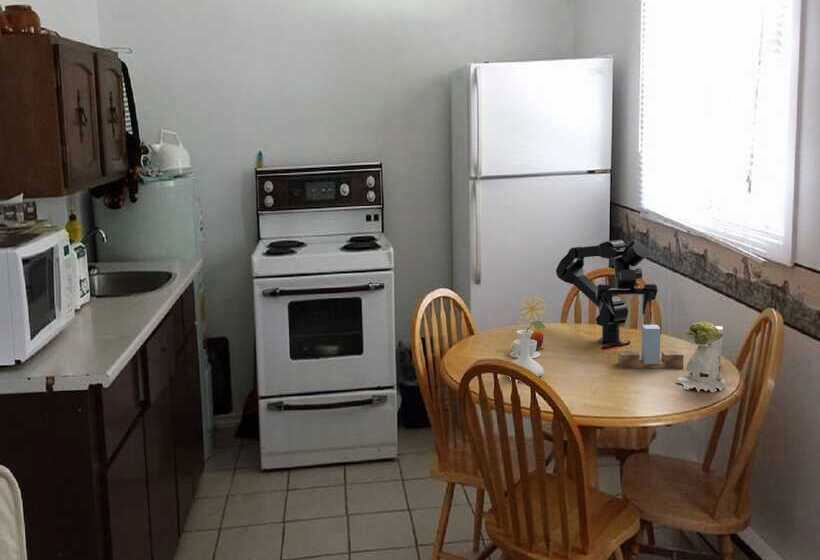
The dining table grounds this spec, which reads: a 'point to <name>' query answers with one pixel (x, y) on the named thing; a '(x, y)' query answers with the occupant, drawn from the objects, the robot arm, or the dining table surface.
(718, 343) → the skincare box
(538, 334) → the fruit
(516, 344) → the teacup
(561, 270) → the robot arm
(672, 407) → the dining table surface
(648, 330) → the blue block
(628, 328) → the dining table surface
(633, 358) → the slotted plank
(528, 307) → the flower in vase
